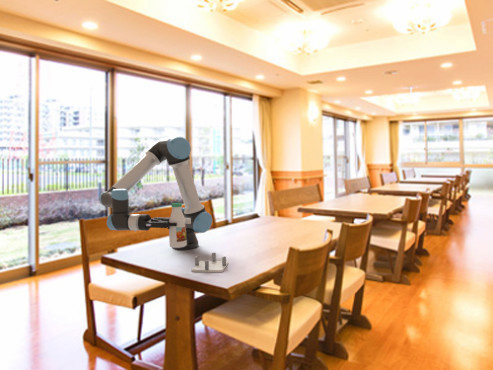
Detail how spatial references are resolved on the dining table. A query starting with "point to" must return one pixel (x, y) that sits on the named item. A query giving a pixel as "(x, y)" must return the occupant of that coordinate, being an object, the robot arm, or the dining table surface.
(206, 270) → the white peg board
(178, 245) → the milk bottle
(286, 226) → the dining table surface
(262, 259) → the dining table surface
